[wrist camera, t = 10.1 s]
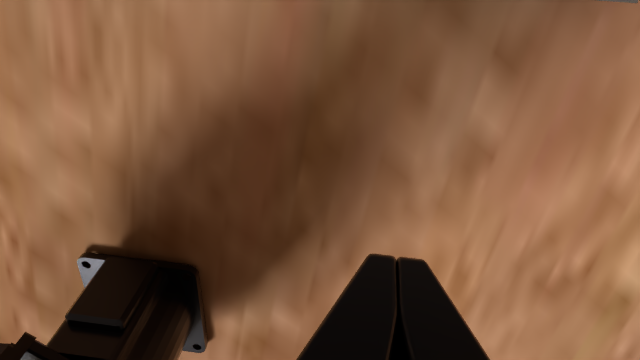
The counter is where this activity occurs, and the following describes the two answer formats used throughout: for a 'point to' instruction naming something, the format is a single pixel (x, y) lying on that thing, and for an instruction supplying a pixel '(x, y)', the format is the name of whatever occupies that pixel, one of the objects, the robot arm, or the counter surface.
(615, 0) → the console
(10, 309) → the counter surface
